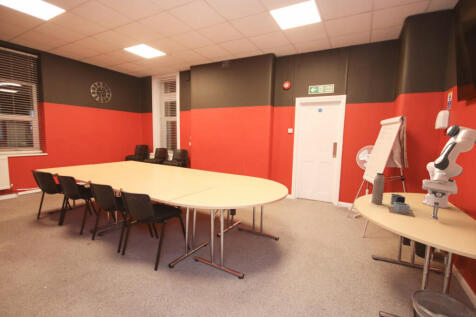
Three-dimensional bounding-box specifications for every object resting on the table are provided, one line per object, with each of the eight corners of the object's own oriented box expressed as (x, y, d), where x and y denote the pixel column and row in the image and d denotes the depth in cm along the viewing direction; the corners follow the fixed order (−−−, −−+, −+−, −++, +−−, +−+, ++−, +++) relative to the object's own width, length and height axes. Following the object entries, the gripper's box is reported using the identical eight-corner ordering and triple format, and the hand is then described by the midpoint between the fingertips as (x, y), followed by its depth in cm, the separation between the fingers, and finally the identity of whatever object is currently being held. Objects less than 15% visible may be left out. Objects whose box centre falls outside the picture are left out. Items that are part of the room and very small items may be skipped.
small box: (404, 209, 185) (406, 197, 184) (395, 208, 186) (397, 196, 185) (398, 205, 195) (399, 194, 194) (389, 205, 197) (391, 193, 195)
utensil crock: (392, 208, 182) (393, 201, 182) (407, 210, 177) (408, 203, 177) (393, 211, 174) (394, 204, 173) (409, 214, 169) (410, 206, 168)
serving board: (387, 207, 188) (387, 206, 188) (411, 211, 180) (411, 210, 180) (389, 214, 171) (389, 212, 171) (415, 219, 163) (415, 217, 163)
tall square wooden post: (430, 219, 164) (433, 202, 162) (430, 218, 167) (433, 201, 165) (437, 221, 161) (440, 203, 160) (437, 219, 164) (440, 202, 163)
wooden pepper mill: (370, 202, 201) (373, 172, 198) (380, 204, 198) (384, 173, 195) (372, 205, 193) (376, 173, 190) (383, 206, 191) (386, 174, 188)
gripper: (423, 176, 181) (421, 190, 175) (458, 181, 168) (457, 196, 161) (422, 181, 185) (420, 194, 179) (457, 186, 171) (456, 200, 165)
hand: (438, 195), depth 170 cm, fingers open, 8 cm apart
